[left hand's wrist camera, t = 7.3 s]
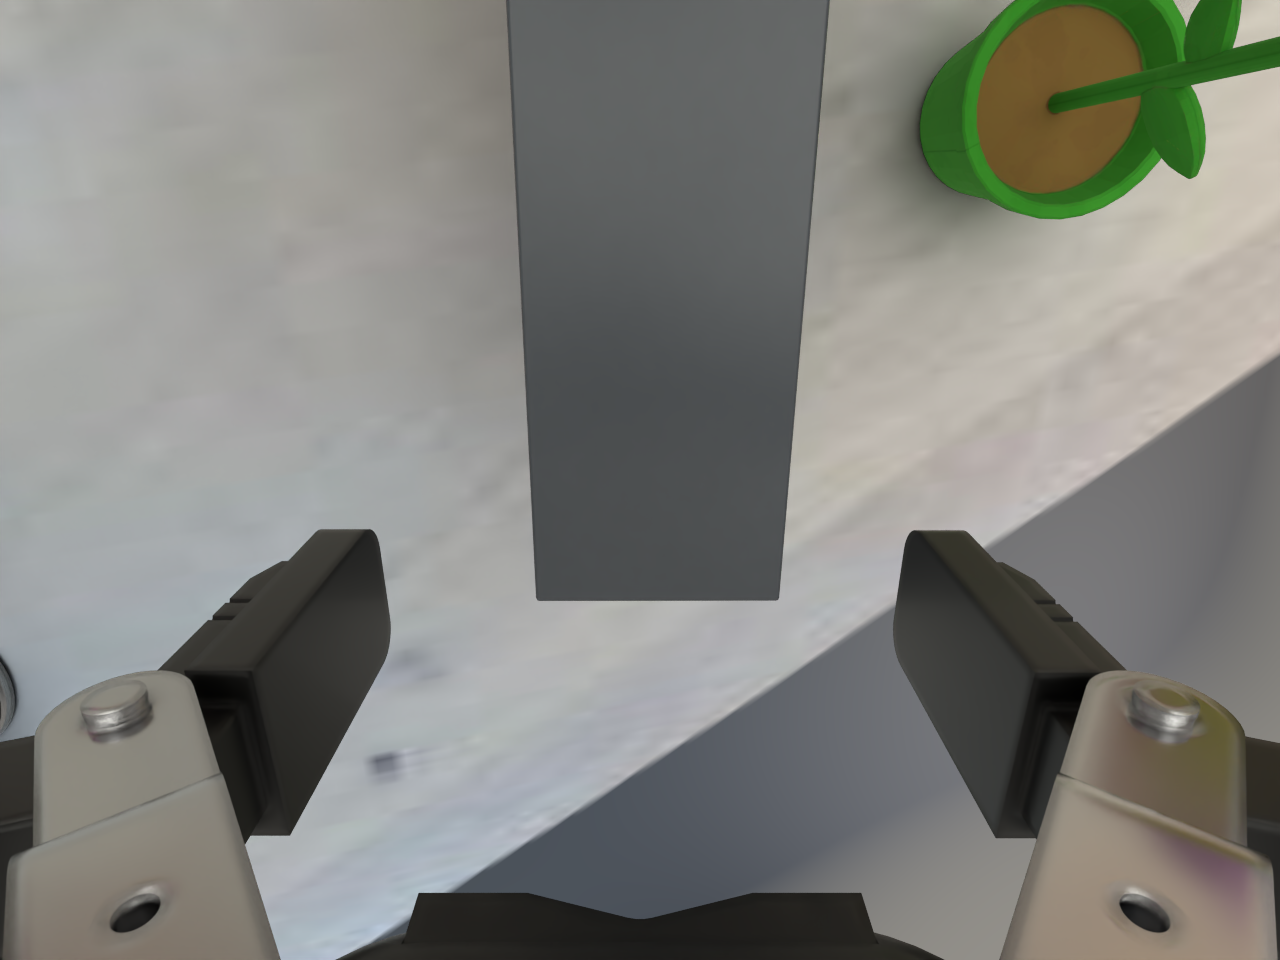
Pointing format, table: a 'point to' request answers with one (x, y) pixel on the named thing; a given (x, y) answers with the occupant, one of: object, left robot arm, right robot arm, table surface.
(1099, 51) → the potted flower
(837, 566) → the table surface
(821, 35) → the box
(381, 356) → the table surface
